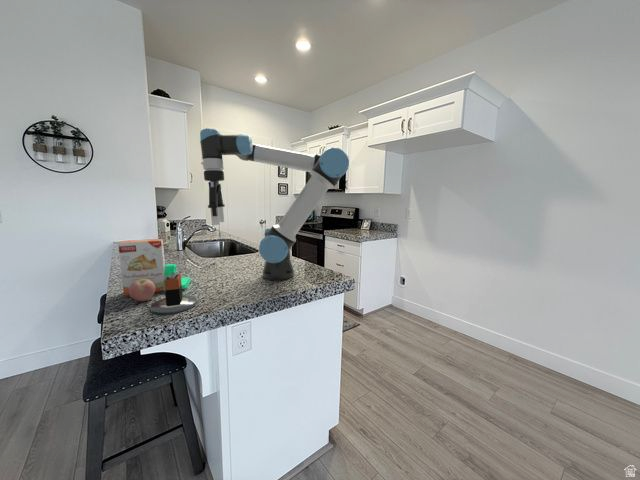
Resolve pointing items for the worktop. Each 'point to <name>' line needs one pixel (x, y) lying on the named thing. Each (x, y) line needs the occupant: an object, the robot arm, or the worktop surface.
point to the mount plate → (161, 307)
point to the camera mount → (173, 269)
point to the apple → (142, 289)
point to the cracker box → (142, 262)
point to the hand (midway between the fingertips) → (218, 223)
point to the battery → (173, 289)
